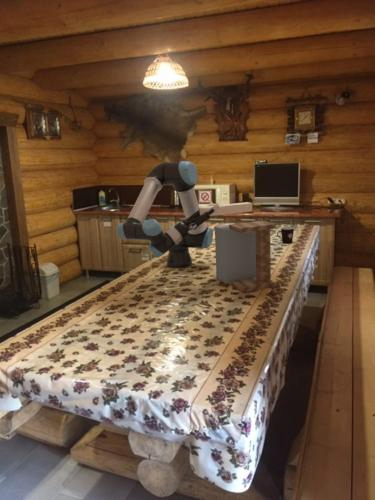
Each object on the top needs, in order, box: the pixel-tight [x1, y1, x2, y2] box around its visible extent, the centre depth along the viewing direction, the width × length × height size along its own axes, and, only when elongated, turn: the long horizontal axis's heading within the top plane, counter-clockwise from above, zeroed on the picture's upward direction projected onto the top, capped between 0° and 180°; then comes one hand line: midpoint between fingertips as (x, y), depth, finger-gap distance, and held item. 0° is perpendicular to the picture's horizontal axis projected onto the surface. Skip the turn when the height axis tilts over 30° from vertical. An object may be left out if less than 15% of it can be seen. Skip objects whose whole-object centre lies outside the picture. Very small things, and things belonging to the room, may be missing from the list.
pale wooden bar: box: [199, 201, 253, 217], centre depth 205 cm, size 26×5×4 cm, turn 110°
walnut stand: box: [228, 220, 277, 293], centre depth 199 cm, size 18×12×30 cm, turn 110°
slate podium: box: [214, 224, 256, 285], centre depth 212 cm, size 17×12×27 cm
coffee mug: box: [276, 226, 295, 245], centre depth 286 cm, size 12×9×10 cm
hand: (215, 204), depth 203 cm, fingers closed on pale wooden bar, 5 cm apart
